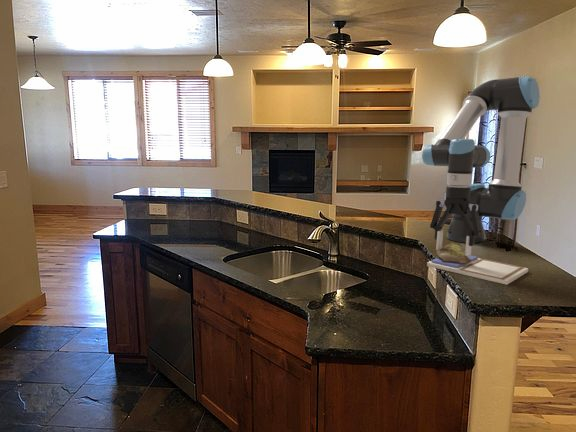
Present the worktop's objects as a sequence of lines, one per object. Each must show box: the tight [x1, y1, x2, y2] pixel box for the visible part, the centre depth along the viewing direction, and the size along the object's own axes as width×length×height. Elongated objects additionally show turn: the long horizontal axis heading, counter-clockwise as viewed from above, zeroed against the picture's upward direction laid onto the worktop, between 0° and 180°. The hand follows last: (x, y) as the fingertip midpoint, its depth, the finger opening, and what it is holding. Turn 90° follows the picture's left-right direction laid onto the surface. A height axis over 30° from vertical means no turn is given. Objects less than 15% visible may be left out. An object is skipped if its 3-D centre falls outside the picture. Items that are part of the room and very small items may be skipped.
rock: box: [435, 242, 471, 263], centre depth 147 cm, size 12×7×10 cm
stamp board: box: [426, 254, 529, 286], centre depth 143 cm, size 17×26×2 cm, turn 43°
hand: (452, 252), depth 147 cm, fingers open, 10 cm apart
